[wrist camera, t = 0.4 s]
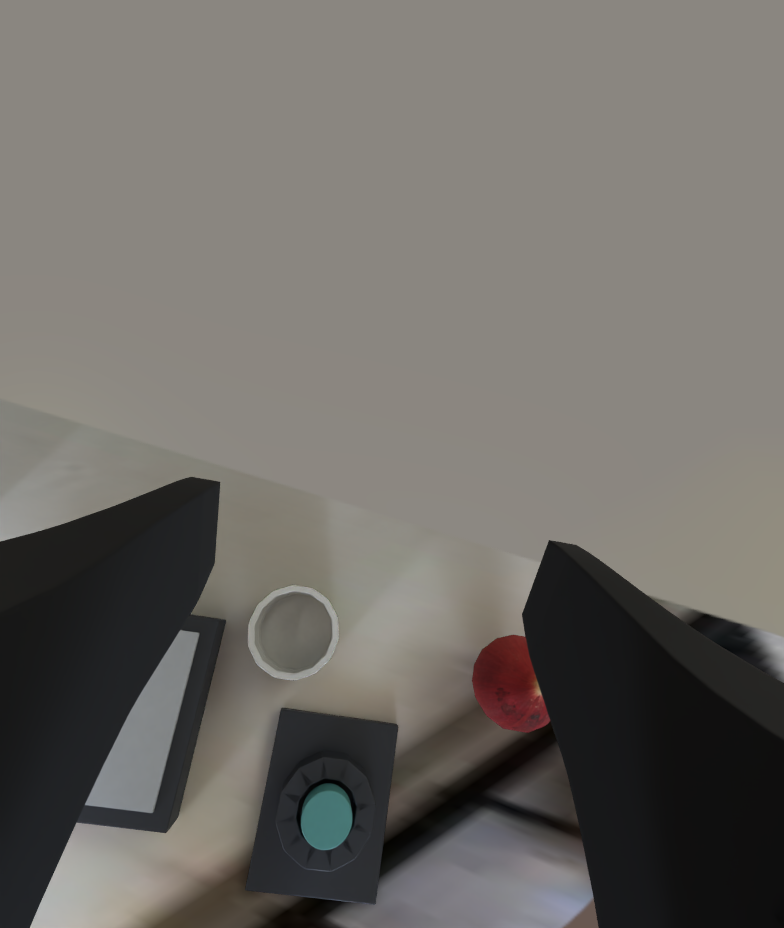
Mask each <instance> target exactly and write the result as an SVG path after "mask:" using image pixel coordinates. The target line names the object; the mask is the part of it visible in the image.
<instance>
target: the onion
mask: <svg viewBox="0 0 784 928" xmlns="http://www.w3.org/2000/svg"><path fill="white" fill-rule="evenodd" d="M472 682H473V687H474V692H475V697H476V699H477V701H478V702H479V704H480V706H481V707H482V709H483V711H484V712H485V714H486V715H487V716H488V717H489V718H490V719H492V720H493V721H494V722H496V723H497V724H498V725H500V726H501V727H502V728H503V729H509V730H515V731H521V732H527V733H528V732H530V731H533V730H536V729H538V728H541V727H543V726H545V725H547V724H548V723H549V722H550V718H549V715H548V712H547V709H546V706H545V703H544V700H543V697H542V694H541V691H540V688H539V685H538V682H537V679H536V676H535V673H534V669H533V666H532V663H531V660H530V657H529V652H528V647H527V642H526V637H524V636H518V635H510V636H506V637H501V638H497V639H495V640H494V641H493V642H491V643H490V644H489V645H488V646H486V647H485V648H484V649H482V651H481V653H480V654H479V656H478V658H477V660H476V662H475V664H474V670H473V678H472Z"/></svg>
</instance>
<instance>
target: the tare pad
mask: <svg viewBox="0 0 784 928" xmlns="http://www.w3.org/2000/svg"><path fill="white" fill-rule="evenodd" d="M397 732H398V725H397V724H393V723H386V722H379V721H372V720H365V719H358V718H351V717H344V716H337V715H330V714H323V713H316V712H309V711H301V710H294V709H287V708H282V709H281V712H280V717H279V722H278V727H277V732H276V737H275V742H274V747H273V752H272V757H271V762H270V767H269V772H268V777H267V782H266V787H265V793H264V798H263V803H262V808H261V813H260V818H259V823H258V828H257V833H256V838H255V843H254V848H253V853H252V858H251V863H250V868H249V873H248V878H247V883H246V888H245V890H248V891H257V892H266V893H275V894H284V895H293V896H302V897H311V898H320V899H328V900H337V901H346V902H355V903H364V904H373V905H375V904H376V896H377V888H378V881H379V873H380V865H381V857H382V849H383V841H384V834H385V826H386V818H387V810H388V802H389V795H390V787H391V779H392V771H393V763H394V756H395V748H396V740H397ZM325 783H332V784H335V785H338V786H340V787H341V788H342V789H343V790H344V791H345V792H346V793H347V795H348V797H349V800H350V803H351V809H352V826H351V829H350V832H349V834H348V836H347V837H346V839H345V840H344V841H343V842H342V843H341V844H340V845H338V846H337V847H335V848H333V849H329V850H320V849H317V848H315V847H313V846H311V845H310V844H309V843H308V842H307V840H306V839H305V837H304V835H303V833H302V829H301V815H302V807H303V804H304V801H305V799H306V797H307V795H308V794H309V793H310V792H311V791H312V790H313V789H314V788H315V787H317V786H319V785H321V784H325Z"/></svg>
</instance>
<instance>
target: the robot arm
mask: <svg viewBox="0 0 784 928" xmlns="http://www.w3.org/2000/svg"><path fill="white" fill-rule="evenodd" d="M219 493H220V482H217V481H212V480H206V479H200V478H195V477H189V478H185V479H182V480H179V481H176V482H174V483H171V484H169V485H166V486H163V487H161V488H158V489H156V490H153V491H151V492H149V493H146V494H144V495H141V496H138V497H136V498H133V499H131V500H128V501H126V502H123V503H121V504H118V505H116V506H113V507H110V508H108V509H105V510H102V511H99V512H96V513H93V514H90V515H88V516H85V517H82V518H79V519H76V520H73V521H70V522H68V523H65V524H62V525H58V526H55V527H52V528H49V529H45V530H42V531H38V532H35V533H31V534H28V535H24V536H20V537H16V538H12V539H9V540H5V541H1V542H0V928H30V926H31V923H32V921H33V919H34V916H35V914H36V912H37V909H38V907H39V905H40V902H41V900H42V898H43V896H44V893H45V891H46V889H47V887H48V884H49V882H50V880H51V878H52V876H53V873H54V871H55V869H56V867H57V864H58V862H59V860H60V858H61V856H62V853H63V851H64V849H65V847H66V844H67V842H68V840H69V838H70V835H71V833H72V831H73V829H74V827H75V824H76V822H77V820H78V818H79V816H80V814H81V812H82V810H83V808H84V805H85V803H86V801H87V799H88V797H89V795H90V793H91V791H92V788H93V786H94V784H95V782H96V780H97V778H98V776H99V774H100V771H101V769H102V767H103V765H104V763H105V761H106V759H107V757H108V755H109V753H110V751H111V749H112V747H113V745H114V743H115V741H116V739H117V737H118V735H119V733H120V731H121V729H122V727H123V725H124V723H125V721H126V719H127V717H128V715H129V713H130V711H131V709H132V708H133V706H134V704H135V702H136V701H137V699H138V697H139V695H140V694H141V692H142V690H143V689H144V687H145V686H146V684H147V682H148V681H149V679H150V678H151V676H152V674H153V673H154V671H155V670H156V668H157V666H158V665H159V663H160V662H161V660H162V658H163V657H164V655H165V654H166V652H167V651H168V649H169V647H170V646H171V644H172V643H173V641H174V639H175V638H176V636H177V635H178V633H179V631H180V630H181V628H182V627H183V625H184V623H185V622H186V620H187V618H188V617H189V615H190V614H191V612H192V610H193V609H194V607H195V605H196V604H197V602H198V600H199V597H200V595H201V593H202V591H203V589H204V587H205V584H206V582H207V580H208V577H209V575H210V573H211V570H212V568H213V566H214V564H215V550H216V536H217V521H218V507H219ZM522 617H523V624H524V630H525V636H526V642H527V647H528V652H529V657H530V660H531V663H532V666H533V669H534V673H535V676H536V679H537V682H538V685H539V688H540V691H541V694H542V697H543V700H544V703H545V706H546V709H547V712H548V715H549V718H550V721H551V724H552V727H553V730H554V733H555V736H556V739H557V742H558V745H559V748H560V751H561V754H562V757H563V761H564V764H565V767H566V771H567V774H568V778H569V782H570V786H571V791H572V795H573V800H574V804H575V809H576V813H577V817H578V822H579V826H580V831H581V836H582V841H583V846H584V851H585V856H586V861H587V866H588V871H589V876H590V881H591V886H592V891H593V896H594V902H595V908H596V914H597V920H598V926H599V928H784V683H782V682H781V681H779V680H777V679H775V678H773V677H772V676H770V675H768V674H766V673H764V672H763V671H761V670H759V669H757V668H756V667H754V666H752V665H751V664H749V663H747V662H746V661H744V660H742V659H741V658H739V657H737V656H736V655H734V654H732V653H731V652H729V651H727V650H726V649H724V648H722V647H721V646H719V645H718V644H716V643H715V642H713V641H712V640H710V639H708V638H707V637H705V636H704V635H702V634H701V633H699V632H698V631H696V630H695V629H694V628H692V627H691V626H689V625H688V624H686V623H685V622H683V621H682V620H680V619H679V618H677V617H676V616H675V615H673V614H672V613H670V612H669V611H668V610H666V609H665V608H663V607H662V606H661V605H659V604H658V603H656V602H655V601H654V600H652V599H651V598H650V597H648V596H647V595H646V594H644V593H643V592H642V591H640V590H639V589H638V588H636V587H635V586H634V585H632V584H631V583H630V582H628V581H627V580H626V579H624V578H623V577H622V576H620V575H619V574H618V573H616V572H615V571H614V570H612V569H611V568H610V567H608V566H607V565H605V564H604V563H603V562H601V561H600V560H599V559H597V558H596V557H594V556H593V555H591V554H590V553H589V552H587V551H585V550H584V549H582V548H580V547H579V546H577V545H573V544H567V543H562V542H556V541H550V540H549V542H548V545H547V548H546V550H545V553H544V556H543V559H542V561H541V564H540V567H539V569H538V572H537V575H536V578H535V580H534V583H533V586H532V589H531V591H530V594H529V597H528V600H527V602H526V605H525V608H524V611H523V613H522Z"/></svg>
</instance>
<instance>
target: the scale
mask: <svg viewBox="0 0 784 928" xmlns="http://www.w3.org/2000/svg"><path fill="white" fill-rule="evenodd" d="M225 623H226V620H223V619H217V618H210V617H204V616H197V615H191V614H190V615H189V617H188V618H187V620H186V622H185V623H184V625H183V627H182V628H181V630H180V631H179V633H178V635H177V636H176V638H175V639H174V641H173V643H172V644H171V646H170V647H169V649H168V651H167V652H166V654H165V655H164V657H163V658H162V660H161V662H160V663H159V665H158V666H157V668H156V670H155V671H154V673H153V674H152V676H151V678H150V679H149V681H148V682H147V684H146V686H145V687H144V689H143V690H142V692H141V694H140V695H139V697H138V699H137V701H136V702H135V704H134V706H133V708H132V709H131V711H130V713H129V715H128V717H127V719H126V721H125V723H124V725H123V727H122V729H121V731H120V733H119V735H118V737H117V739H116V741H115V743H114V745H113V747H112V749H111V751H110V753H109V755H108V757H107V759H106V761H105V763H104V765H103V767H102V769H101V771H100V774H99V776H98V778H97V780H96V782H95V784H94V786H93V788H92V791H91V793H90V795H89V797H88V799H87V801H86V803H85V805H84V808H83V810H82V812H81V814H80V816H79V818H78V820H77V823H86V824H94V825H102V826H111V827H119V828H128V829H136V830H144V831H153V832H161V833H167V831H168V830H169V829H170V827H171V826H172V825H173V823H174V822H175V821H176V819H177V818H178V815H179V811H180V807H181V803H182V799H183V795H184V791H185V786H186V782H187V778H188V774H189V770H190V766H191V762H192V758H193V754H194V750H195V745H196V741H197V737H198V733H199V729H200V725H201V721H202V717H203V713H204V709H205V705H206V700H207V696H208V692H209V688H210V684H211V680H212V676H213V672H214V668H215V664H216V660H217V655H218V651H219V647H220V643H221V639H222V635H223V631H224V627H225Z"/></svg>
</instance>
